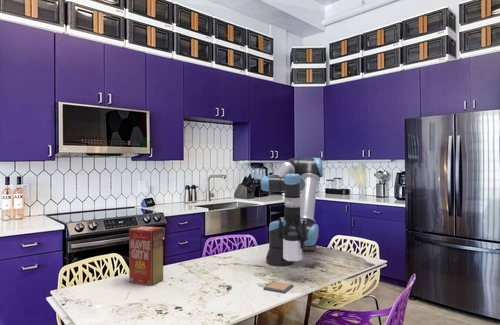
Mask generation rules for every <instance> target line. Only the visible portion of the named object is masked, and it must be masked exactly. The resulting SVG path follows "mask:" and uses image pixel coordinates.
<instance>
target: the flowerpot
mask: <svg viewBox="0 0 500 325" xmlns="http://www.w3.org/2000/svg"><path fill="white" fill-rule="evenodd" d="M317 239H319V234H318V237H317ZM317 241H318V240H317ZM317 241H316V243H315V245H313V246H304V248H303V249H302V252H314V251H315V250H316V249H317Z"/></svg>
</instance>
